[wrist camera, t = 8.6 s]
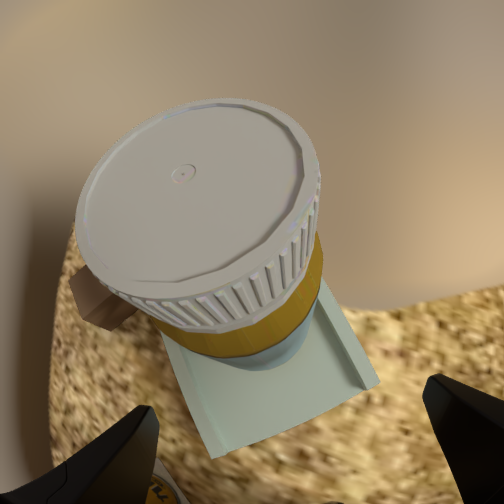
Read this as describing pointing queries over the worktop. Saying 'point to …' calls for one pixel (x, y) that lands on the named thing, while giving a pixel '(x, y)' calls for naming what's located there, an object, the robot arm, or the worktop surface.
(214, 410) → the tray
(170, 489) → the condiment
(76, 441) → the worktop surface
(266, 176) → the bottle
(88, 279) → the walnut block
